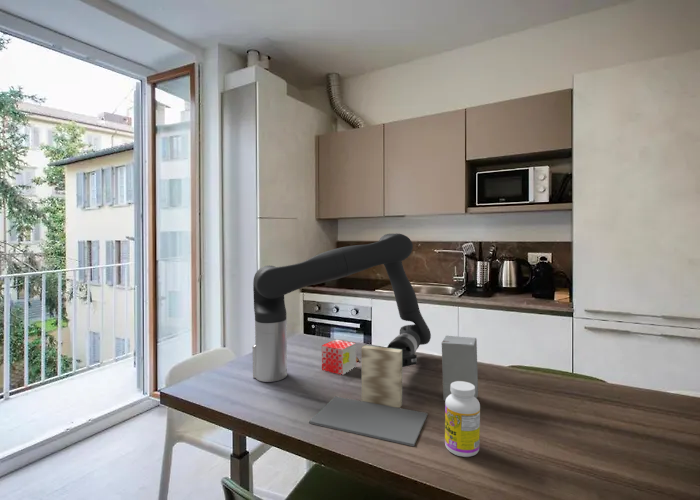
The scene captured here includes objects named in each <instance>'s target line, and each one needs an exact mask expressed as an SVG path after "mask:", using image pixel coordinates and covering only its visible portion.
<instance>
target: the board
mask: <svg viewBox="0 0 700 500" xmlns="http://www.w3.org/2000/svg"><path fill="white" fill-rule="evenodd" d="M361 401H364V402H369V403H375V404H380V405H386V406H391V407H397V408H402V406H403V367H402V349H394V348H387V347H384V346H377V345H369V344H368V345H367V344H364V345H363V346H362V347H361Z"/></svg>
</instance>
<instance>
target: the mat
mask: <svg viewBox="0 0 700 500" xmlns="http://www.w3.org/2000/svg"><path fill="white" fill-rule="evenodd" d="M428 416H429V415H428V412H425V411H424V412H423V411H419V410H418V411H417V410H413V409H407V408H402V407H400V408H397V407H391V406H386V405H380V404H375V403H369V402H364V401H362V400H357V399H352V398H347V397H341V396H336V395H335V396H334V397H332V399H331V400H330V401H329V402H328V403H327V404H325V405H324V407H322V408H321V409H320V410H319V411H318V412H317V413H316V414H315V415H314V416H313V417H312V418H311V419H310V420H309V422H308V423H309V424H311V425H316V426H320V427H325V428H329V429H334V430H338V431H341V432H342V431H343V432H347V433H351V434H356V435H361V436H364V437H365V436H366V437H369V438H374V439H379V440H383V441H387V442H392V443H397V444H401V445H406V446H409V447H415V445H416V443H417V440H418V438H419V436H420V434H421V432H422V428H424V424H425V422H426V420H427V418H428Z"/></svg>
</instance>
